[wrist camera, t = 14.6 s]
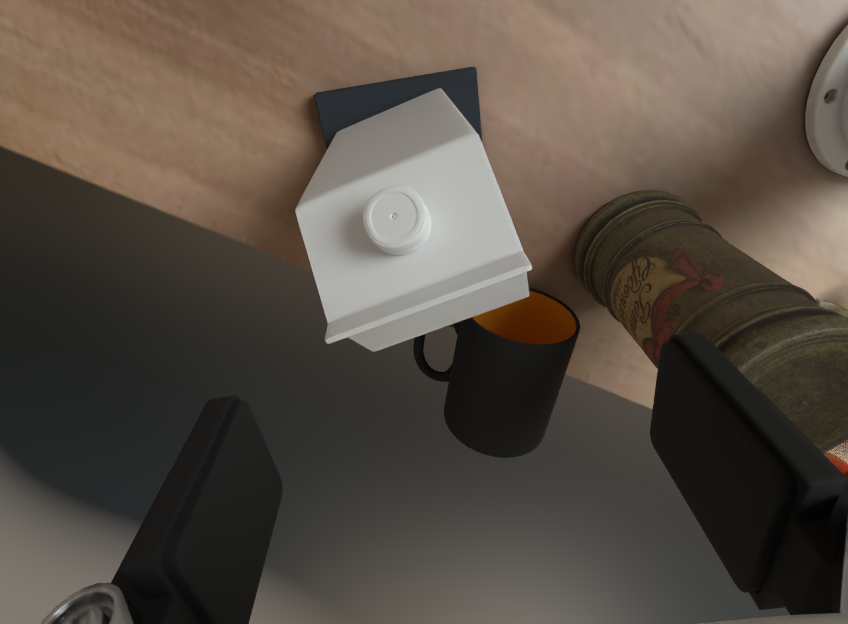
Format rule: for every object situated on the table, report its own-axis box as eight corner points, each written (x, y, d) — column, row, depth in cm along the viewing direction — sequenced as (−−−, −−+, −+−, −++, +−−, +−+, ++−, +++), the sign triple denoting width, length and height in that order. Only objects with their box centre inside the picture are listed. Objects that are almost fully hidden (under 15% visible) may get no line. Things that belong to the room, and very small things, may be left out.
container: (694, 177, 34) (942, 298, 19) (684, 286, 39) (877, 457, 23) (569, 202, 35) (711, 342, 19) (573, 308, 39) (690, 489, 24)
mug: (429, 360, 45) (444, 260, 40) (554, 408, 42) (589, 305, 36) (385, 412, 39) (396, 301, 33) (529, 475, 35) (567, 361, 30)
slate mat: (473, 66, 30) (476, 67, 29) (486, 218, 35) (488, 223, 34) (316, 92, 30) (313, 94, 29) (351, 240, 35) (350, 245, 34)
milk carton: (476, 192, 33) (558, 352, 17) (381, 230, 34) (369, 416, 18) (440, 86, 30) (499, 157, 13) (335, 131, 31) (269, 250, 14)
